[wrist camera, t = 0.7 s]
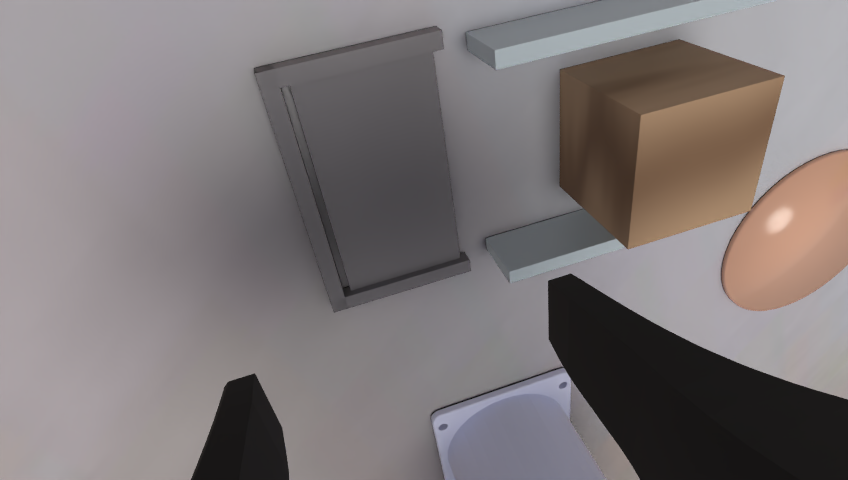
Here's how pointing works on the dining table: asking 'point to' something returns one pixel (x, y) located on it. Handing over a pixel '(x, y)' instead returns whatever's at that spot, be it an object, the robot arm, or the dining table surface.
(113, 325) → the dining table surface
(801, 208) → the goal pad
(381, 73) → the tray
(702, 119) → the walnut block
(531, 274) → the grey parallel rails
